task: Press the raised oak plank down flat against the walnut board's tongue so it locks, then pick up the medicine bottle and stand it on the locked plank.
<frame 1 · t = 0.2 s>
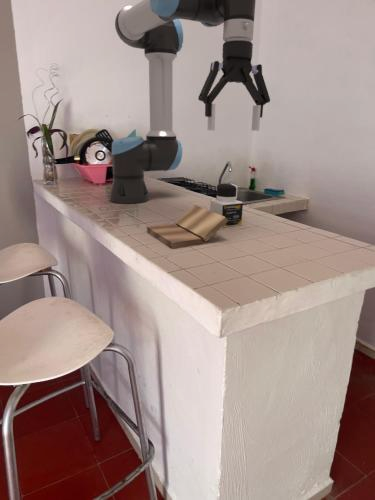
hand: (233, 130, 101), 27 cm above the table, tool pointing down, fingers open, 13 cm apart
laid board: (188, 235, 101), on the table
plank: (200, 221, 101), point 3 cm above the table, hinge at 35.0°
medicine bottle: (225, 224, 113), on the table
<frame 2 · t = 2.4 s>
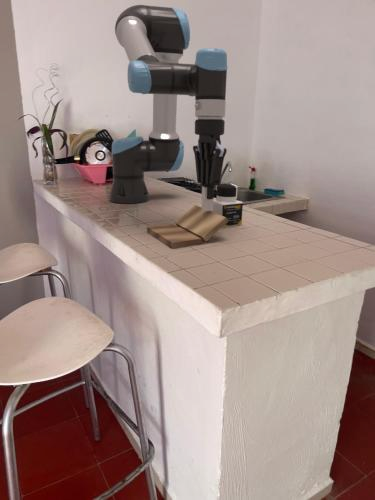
hand: (207, 210, 101), 6 cm above the table, tool pointing down, fingers closed
plank: (200, 222, 101), point 3 cm above the table, hinge at 34.2°, touching gripper
everything else where it was.
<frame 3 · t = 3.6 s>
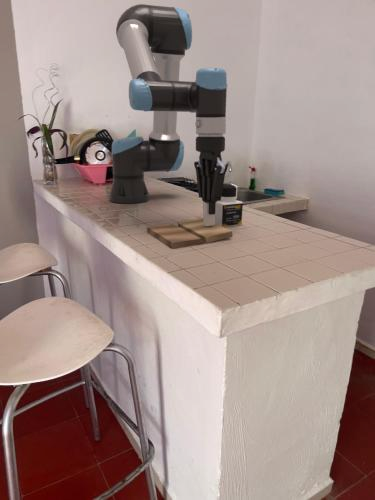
hand: (209, 225, 103), 2 cm above the table, tool pointing down, fingers closed
plank: (203, 229, 103), point 1 cm above the table, hinge at 4.7°, touching gripper
everything else where it was.
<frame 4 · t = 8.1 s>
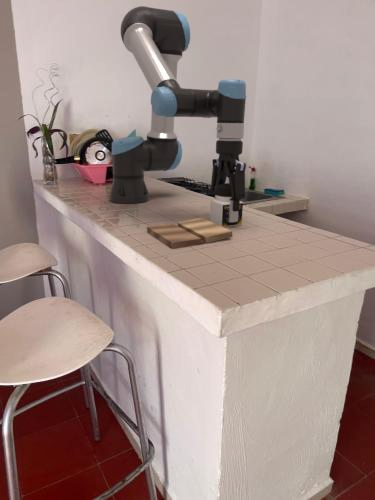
hand: (225, 218, 113), 2 cm above the table, tool pointing down, fingers closed on medicine bottle, 7 cm apart
plank: (203, 229, 103), point 1 cm above the table, hinge at 4.5°
medicine bottle: (225, 224, 113), on the table, touching gripper
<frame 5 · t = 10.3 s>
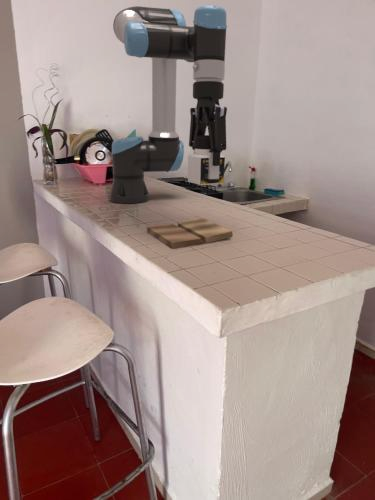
hand: (205, 176, 98), 16 cm above the table, tool pointing down, fingers closed on medicine bottle, 7 cm apart
medicine bottle: (205, 183, 99), point 14 cm above the table, touching gripper
everything else where it was.
when the fingers open (5 cm above the table, at t = 12.6 s): medicine bottle stays where it is, resting on plank.
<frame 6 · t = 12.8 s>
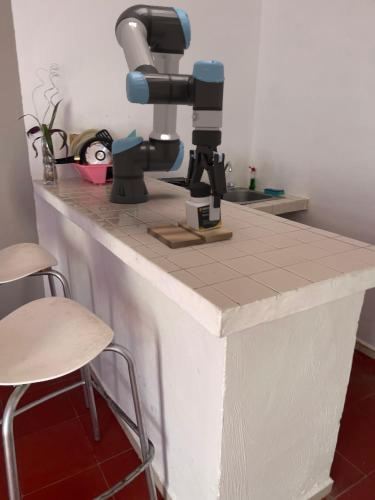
hand: (204, 215, 101), 5 cm above the table, tool pointing down, fingers open, 9 cm apart
plank: (203, 229, 103), point 1 cm above the table, hinge at 3.2°, touching medicine bottle
medicine bottle: (204, 226, 103), point 2 cm above the table, touching plank
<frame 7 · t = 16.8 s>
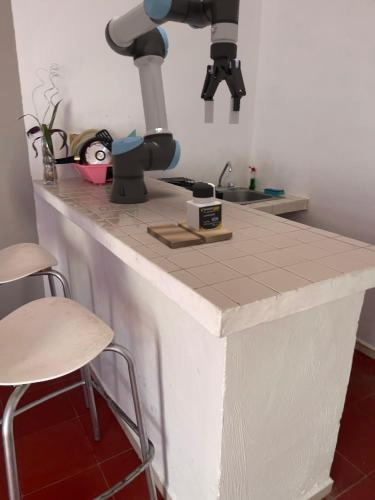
hand: (220, 123, 111), 29 cm above the table, tool pointing down, fingers open, 13 cm apart
plank: (203, 229, 103), point 1 cm above the table, hinge at 2.6°, touching medicine bottle
everything else where it was.
at the end: plank at +3° (first picture: +35°); medicine bottle inside the target area on the plank (0.1 cm from its centre), point 1.6 cm above the plank's base; medicine bottle tilted 3° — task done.
